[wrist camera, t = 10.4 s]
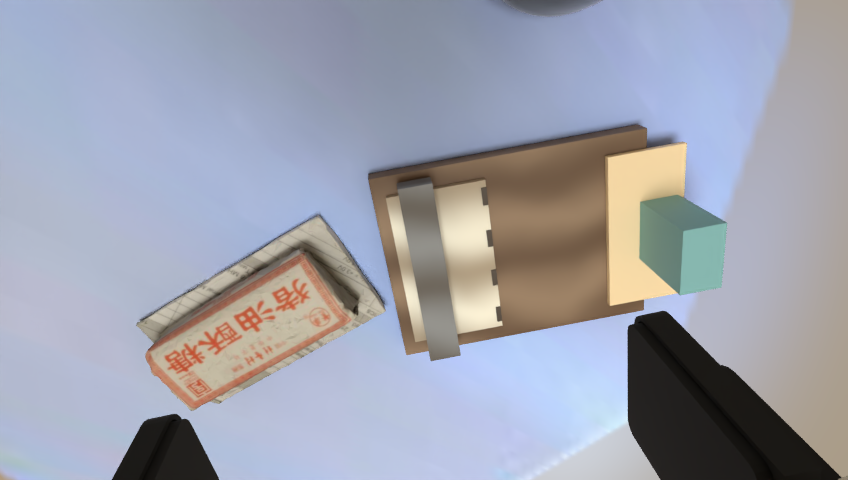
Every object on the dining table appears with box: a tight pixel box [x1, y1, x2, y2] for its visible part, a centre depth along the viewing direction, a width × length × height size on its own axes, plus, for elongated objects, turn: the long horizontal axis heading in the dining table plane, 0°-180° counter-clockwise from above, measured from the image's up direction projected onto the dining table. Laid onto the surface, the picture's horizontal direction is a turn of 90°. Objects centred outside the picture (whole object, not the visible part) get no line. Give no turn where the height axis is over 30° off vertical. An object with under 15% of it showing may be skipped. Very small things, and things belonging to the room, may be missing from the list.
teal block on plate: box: [605, 142, 727, 306], centre depth 38 cm, size 13×6×6 cm, turn 9°
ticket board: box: [368, 124, 647, 361], centre depth 40 cm, size 16×21×4 cm
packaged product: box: [136, 215, 386, 411], centre depth 41 cm, size 18×5×10 cm
